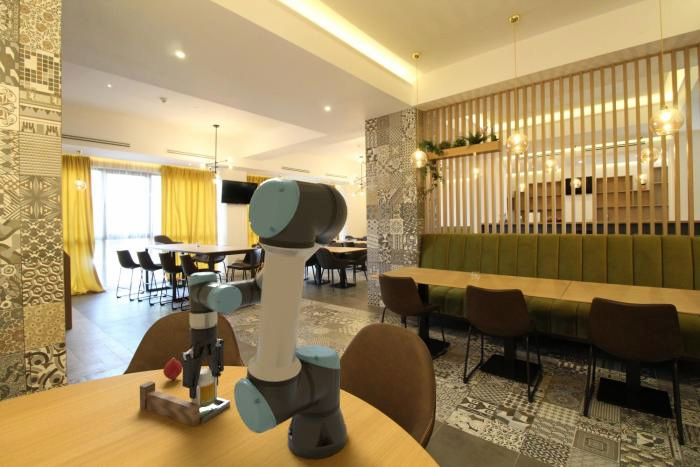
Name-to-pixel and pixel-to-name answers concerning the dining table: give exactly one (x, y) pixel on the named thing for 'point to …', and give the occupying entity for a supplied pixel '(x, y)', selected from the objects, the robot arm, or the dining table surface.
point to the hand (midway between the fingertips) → (204, 402)
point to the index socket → (213, 409)
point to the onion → (172, 369)
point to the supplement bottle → (206, 388)
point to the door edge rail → (168, 405)
